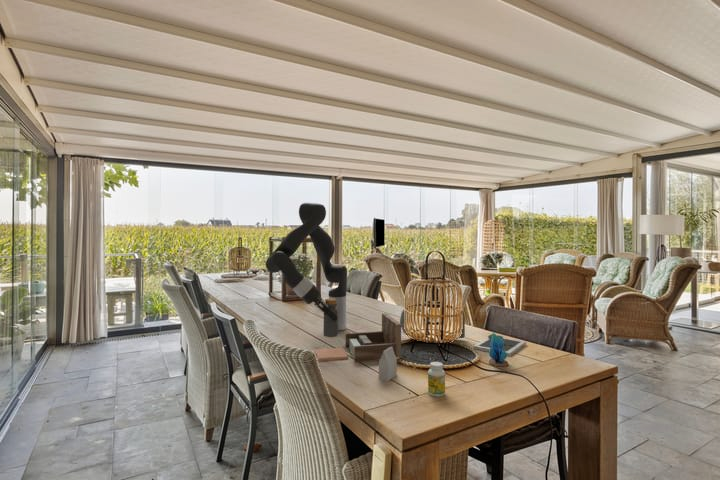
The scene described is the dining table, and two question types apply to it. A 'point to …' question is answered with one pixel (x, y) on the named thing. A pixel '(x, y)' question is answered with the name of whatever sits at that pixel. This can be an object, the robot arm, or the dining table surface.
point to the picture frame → (509, 346)
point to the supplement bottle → (436, 379)
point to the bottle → (329, 324)
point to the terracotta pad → (331, 354)
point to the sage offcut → (353, 344)
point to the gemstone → (497, 352)
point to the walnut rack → (378, 340)
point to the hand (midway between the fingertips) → (334, 317)
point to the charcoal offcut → (364, 340)
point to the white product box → (388, 365)
